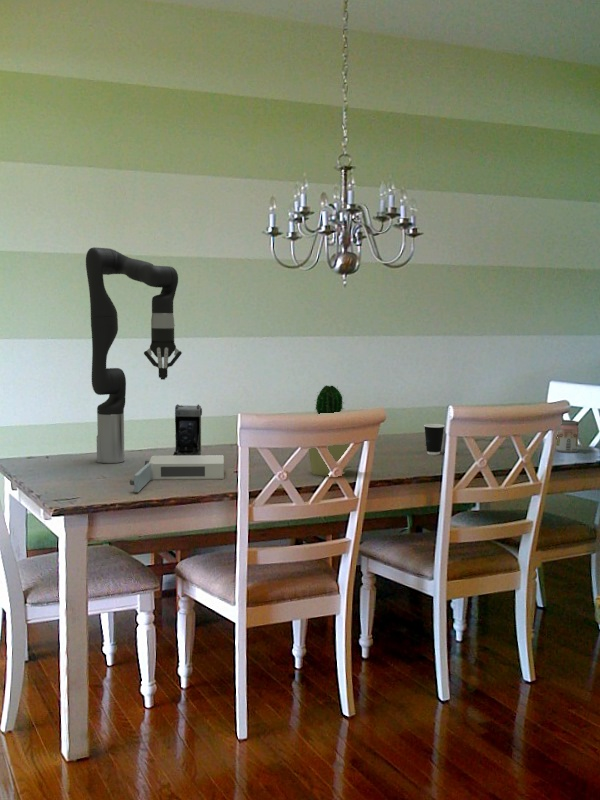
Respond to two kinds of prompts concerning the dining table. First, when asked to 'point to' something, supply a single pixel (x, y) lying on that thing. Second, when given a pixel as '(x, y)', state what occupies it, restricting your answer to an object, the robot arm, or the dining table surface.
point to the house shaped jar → (568, 437)
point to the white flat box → (188, 467)
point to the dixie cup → (434, 438)
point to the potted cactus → (327, 403)
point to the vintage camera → (188, 430)
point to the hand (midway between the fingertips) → (163, 379)
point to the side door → (142, 477)
